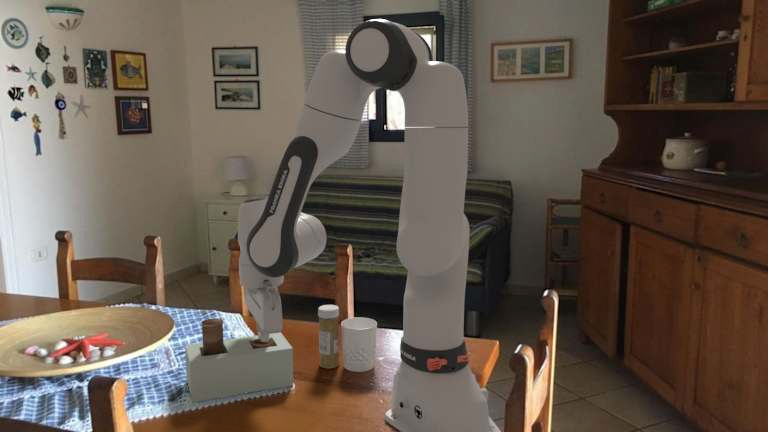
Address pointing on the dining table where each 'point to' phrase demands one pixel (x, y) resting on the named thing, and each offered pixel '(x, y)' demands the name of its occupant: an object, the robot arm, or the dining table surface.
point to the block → (238, 368)
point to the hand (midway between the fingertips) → (263, 339)
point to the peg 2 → (262, 343)
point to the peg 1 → (212, 336)
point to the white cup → (359, 343)
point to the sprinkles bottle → (328, 336)
